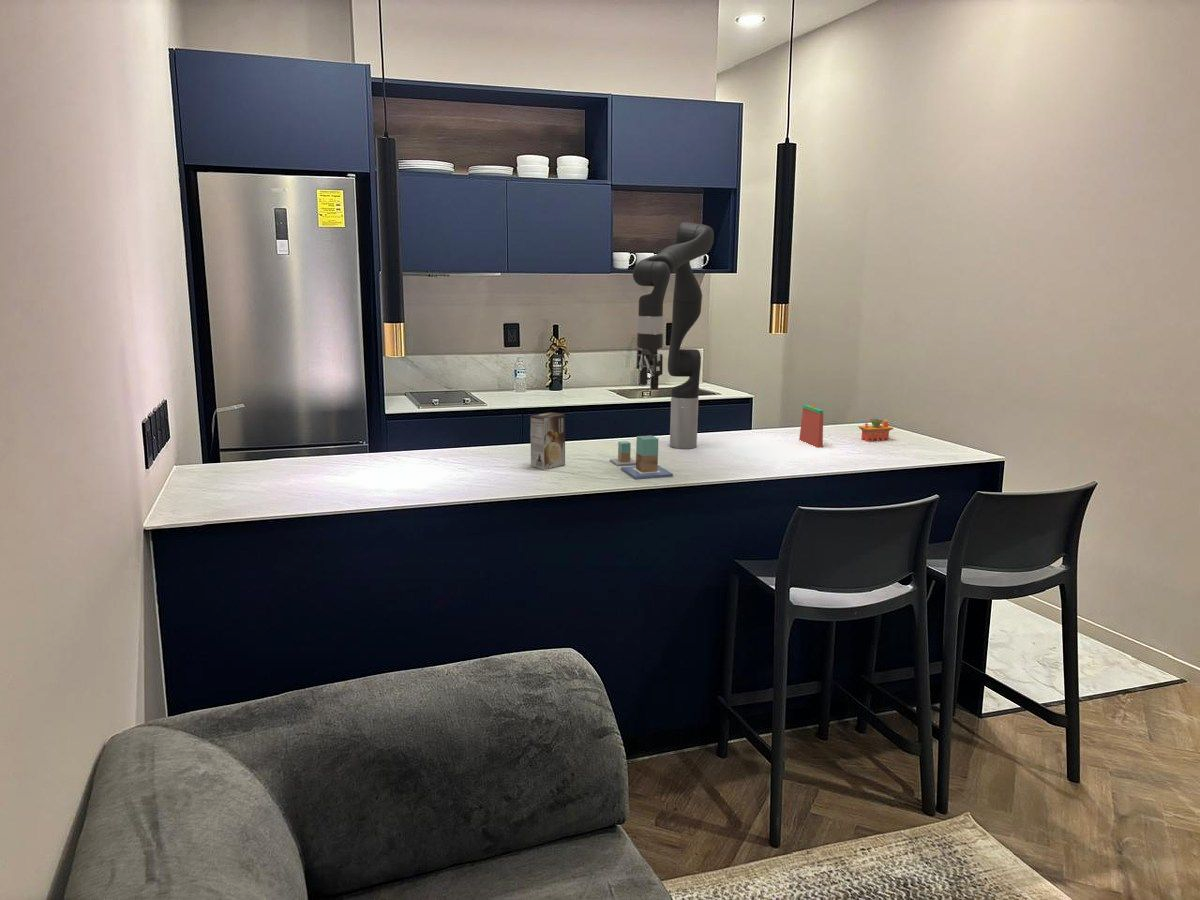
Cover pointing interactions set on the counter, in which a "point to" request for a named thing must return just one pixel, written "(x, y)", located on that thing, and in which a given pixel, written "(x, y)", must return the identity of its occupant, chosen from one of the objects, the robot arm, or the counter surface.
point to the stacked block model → (623, 455)
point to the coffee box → (547, 440)
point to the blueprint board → (646, 473)
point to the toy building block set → (814, 428)
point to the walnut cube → (647, 463)
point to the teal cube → (647, 445)
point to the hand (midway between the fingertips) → (648, 387)
